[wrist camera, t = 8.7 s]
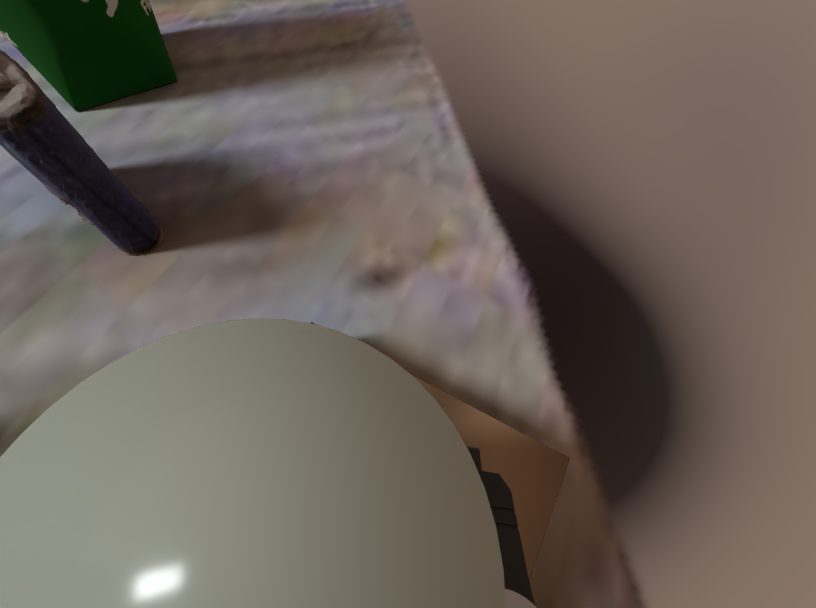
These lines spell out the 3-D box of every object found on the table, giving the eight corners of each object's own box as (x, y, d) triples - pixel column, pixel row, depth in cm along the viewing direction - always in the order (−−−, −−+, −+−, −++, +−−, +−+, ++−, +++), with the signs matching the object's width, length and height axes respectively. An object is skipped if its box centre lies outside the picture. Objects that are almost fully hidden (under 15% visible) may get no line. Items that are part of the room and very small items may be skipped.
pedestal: (100, 661, 14) (43, 688, 12) (321, 343, 20) (310, 321, 18) (391, 912, 12) (388, 1007, 10) (549, 465, 18) (570, 457, 15)
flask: (44, 189, 25) (-175, -13, 15) (87, 162, 26) (-92, -41, 17) (135, 266, 22) (-61, 81, 13) (179, 233, 23) (28, 40, 14)
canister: (233, 574, 13) (-282, 747, 3) (328, 423, 15) (194, 253, 5) (379, 680, 12) (269, 1450, 2) (457, 499, 14) (582, 455, 4)
